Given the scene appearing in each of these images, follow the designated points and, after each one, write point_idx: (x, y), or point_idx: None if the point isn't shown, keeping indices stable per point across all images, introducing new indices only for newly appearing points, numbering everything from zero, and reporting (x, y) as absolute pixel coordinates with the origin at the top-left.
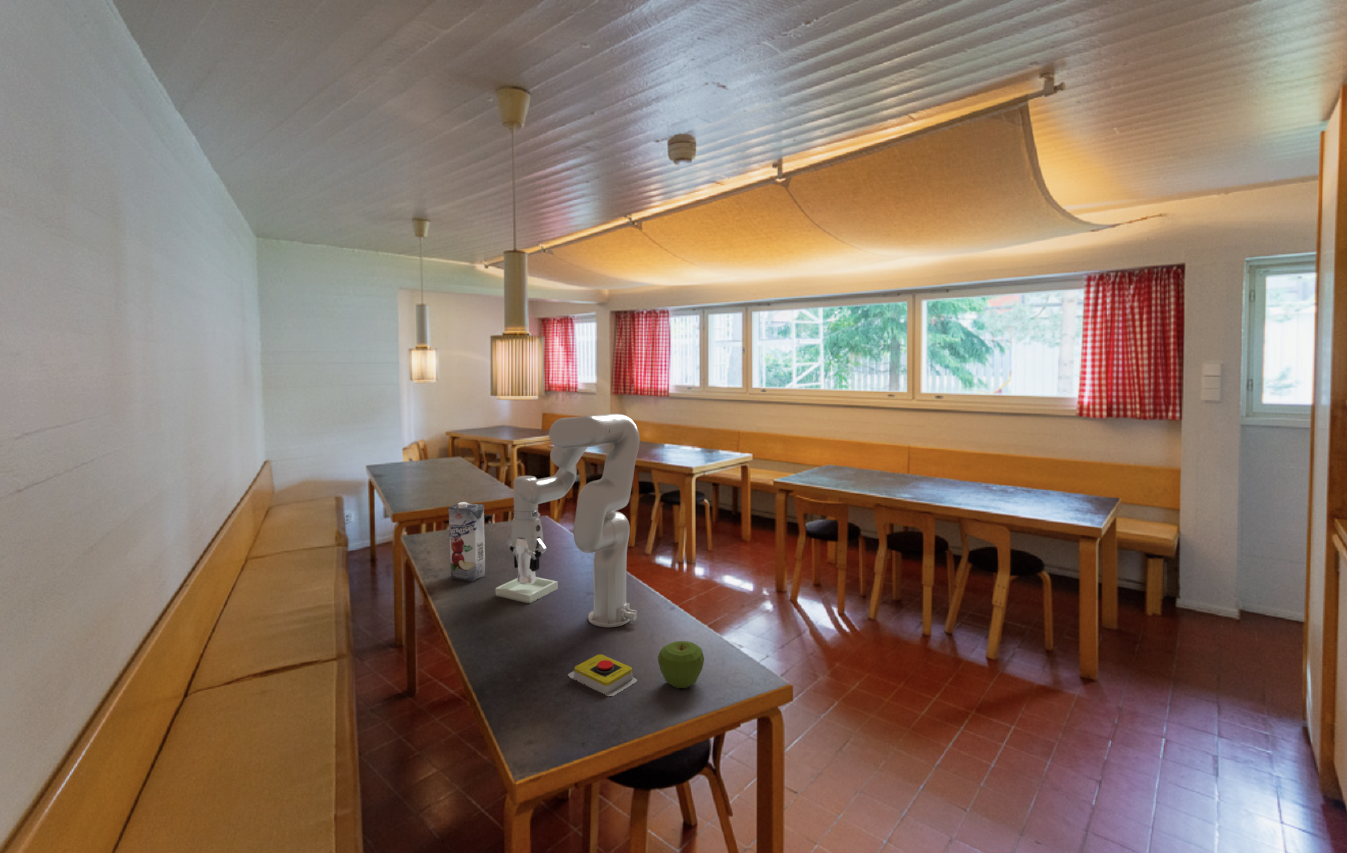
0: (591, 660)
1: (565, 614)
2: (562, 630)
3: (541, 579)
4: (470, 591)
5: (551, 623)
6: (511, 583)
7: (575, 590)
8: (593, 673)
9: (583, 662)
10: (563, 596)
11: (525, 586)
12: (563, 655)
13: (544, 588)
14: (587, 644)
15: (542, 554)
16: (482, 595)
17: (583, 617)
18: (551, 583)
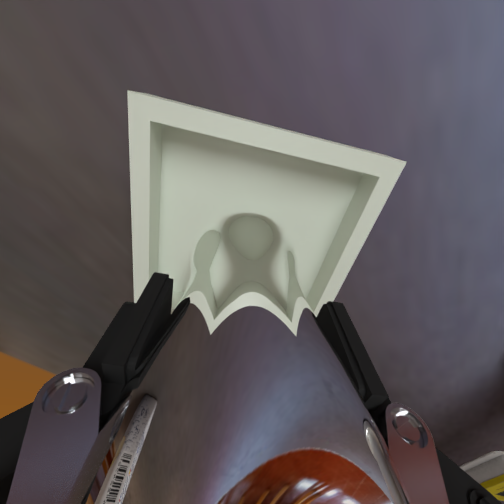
0: (502, 484)
1: (439, 347)
2: (435, 401)
3: (291, 154)
4: (19, 279)
5: (404, 386)
6: (150, 238)
7: (484, 149)
8: (500, 497)
9: (488, 488)
10: (422, 234)
11: (212, 195)
12: (441, 448)
13: (350, 268)
14: (489, 425)
15: (472, 479)
16: (99, 298)
17: (494, 351)
18: (372, 202)
